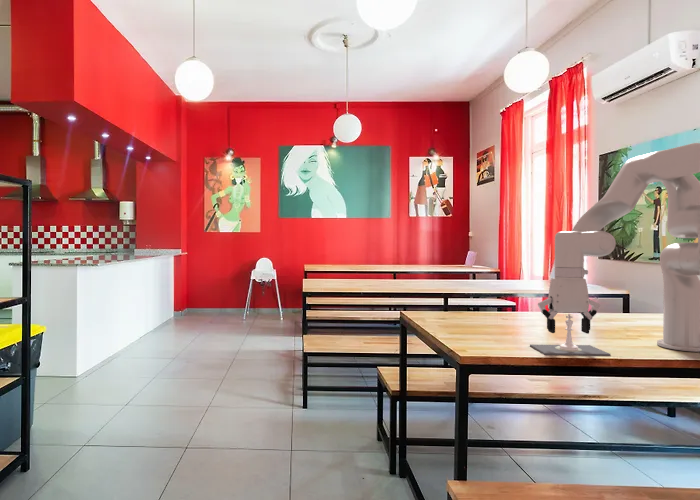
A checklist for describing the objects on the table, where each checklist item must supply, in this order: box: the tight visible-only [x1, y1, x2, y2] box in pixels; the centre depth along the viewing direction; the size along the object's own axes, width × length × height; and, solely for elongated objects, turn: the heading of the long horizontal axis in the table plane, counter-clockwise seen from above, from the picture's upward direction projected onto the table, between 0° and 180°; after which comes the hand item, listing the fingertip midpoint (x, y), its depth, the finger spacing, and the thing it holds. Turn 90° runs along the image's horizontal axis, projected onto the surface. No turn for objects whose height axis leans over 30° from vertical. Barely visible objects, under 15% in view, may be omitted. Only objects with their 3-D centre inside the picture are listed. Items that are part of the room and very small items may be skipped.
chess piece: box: [559, 313, 578, 351], centre depth 127 cm, size 5×5×10 cm
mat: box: [529, 343, 611, 357], centre depth 127 cm, size 18×11×1 cm, turn 88°
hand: (568, 332), depth 127 cm, fingers open, 9 cm apart
